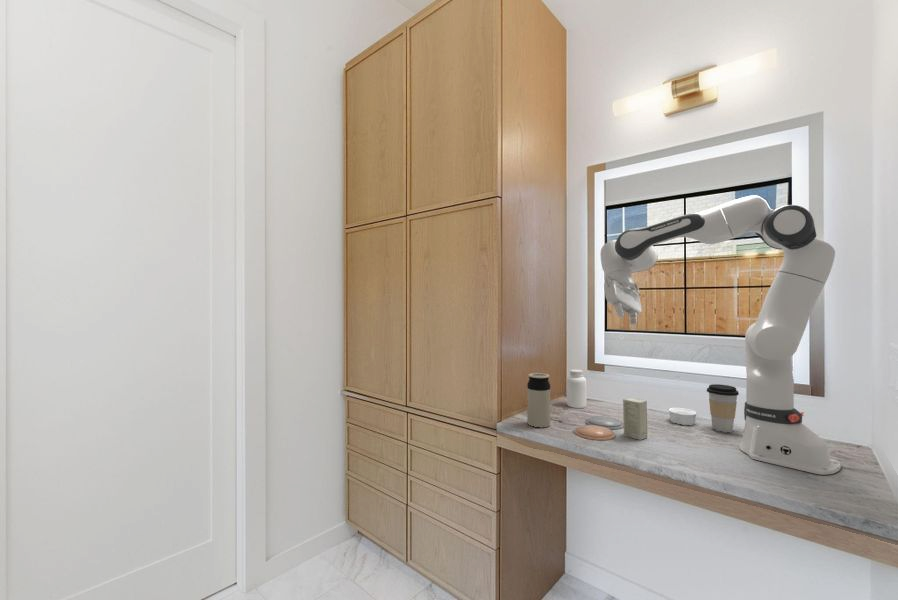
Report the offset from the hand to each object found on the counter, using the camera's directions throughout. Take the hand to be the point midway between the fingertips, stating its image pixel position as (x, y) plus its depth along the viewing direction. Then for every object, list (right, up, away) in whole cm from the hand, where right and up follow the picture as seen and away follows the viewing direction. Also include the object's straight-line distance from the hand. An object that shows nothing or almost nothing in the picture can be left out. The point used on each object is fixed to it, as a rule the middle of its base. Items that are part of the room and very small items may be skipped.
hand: (628, 320), depth 139 cm
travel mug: (-28, -38, +11) cm, 48 cm away
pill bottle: (-6, -38, +36) cm, 53 cm away
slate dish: (-3, -38, +12) cm, 40 cm away
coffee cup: (+35, -38, +6) cm, 52 cm away
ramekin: (+26, -38, +14) cm, 49 cm away
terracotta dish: (-11, -38, +1) cm, 40 cm away
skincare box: (+2, -38, -1) cm, 38 cm away
